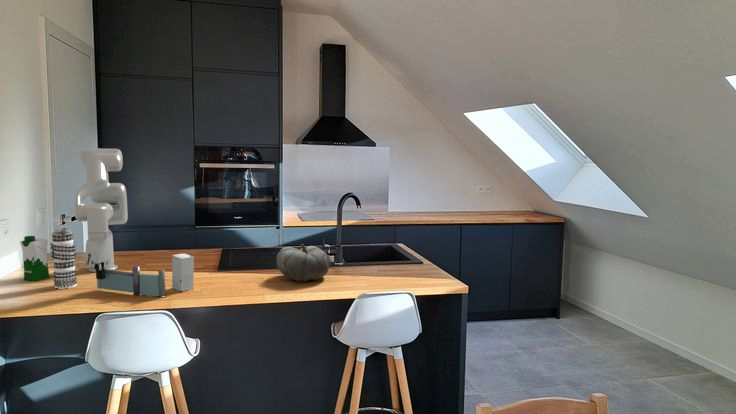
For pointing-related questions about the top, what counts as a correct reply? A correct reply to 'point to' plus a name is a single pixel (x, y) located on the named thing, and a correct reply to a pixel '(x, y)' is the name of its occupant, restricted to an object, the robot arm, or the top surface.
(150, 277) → the fence panel
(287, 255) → the gourd
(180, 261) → the skincare box
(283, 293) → the top surface
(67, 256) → the black and white bottle
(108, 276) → the gate
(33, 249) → the milk carton
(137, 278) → the hinge post
